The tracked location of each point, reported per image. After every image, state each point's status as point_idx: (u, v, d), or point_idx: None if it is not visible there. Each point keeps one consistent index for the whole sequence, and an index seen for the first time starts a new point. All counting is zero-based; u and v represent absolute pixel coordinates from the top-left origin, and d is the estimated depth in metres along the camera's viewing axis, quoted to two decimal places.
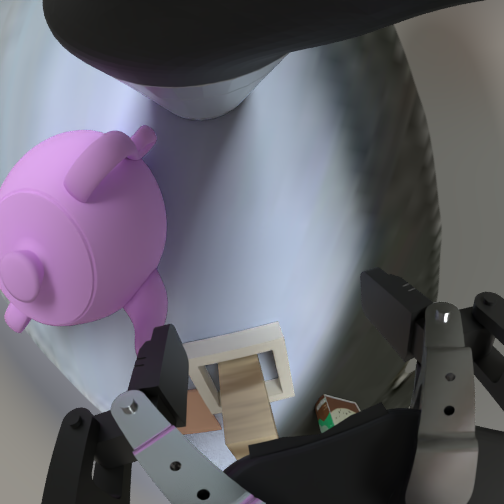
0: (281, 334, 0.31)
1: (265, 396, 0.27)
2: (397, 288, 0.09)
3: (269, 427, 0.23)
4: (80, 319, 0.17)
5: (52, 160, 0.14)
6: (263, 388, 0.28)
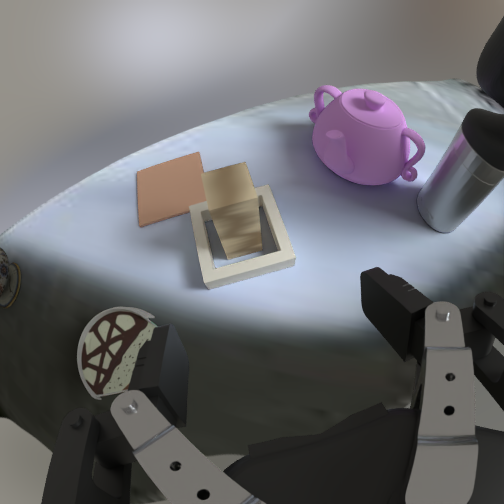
0: None
1: (259, 221, 0.32)
2: (397, 288, 0.09)
3: None
4: (349, 116, 0.34)
5: None
6: None
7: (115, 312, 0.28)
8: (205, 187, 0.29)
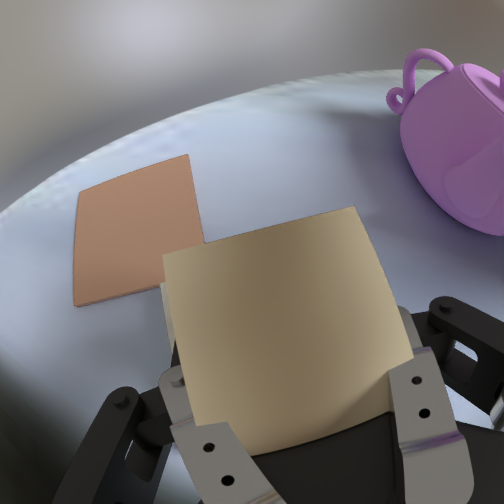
0: None
1: None
2: None
3: None
4: (493, 109, 0.12)
5: None
6: None
7: None
8: (182, 335, 0.06)
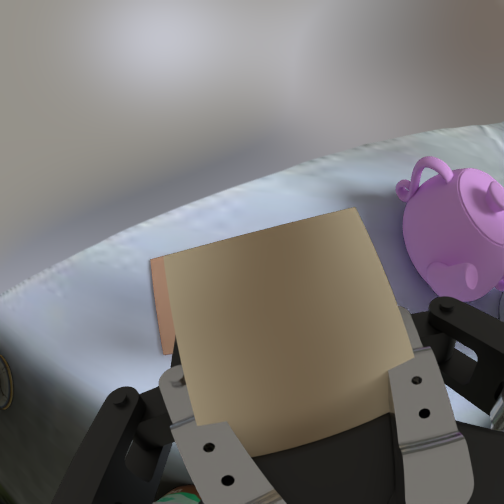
0: None
1: None
2: None
3: None
4: (472, 226, 0.21)
5: None
6: None
7: None
8: (184, 337, 0.06)
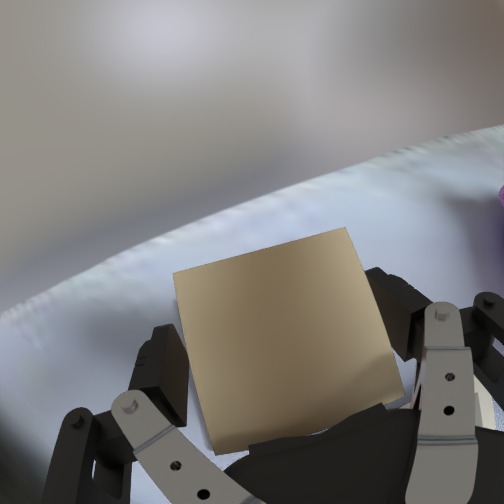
0: None
1: None
2: (397, 288, 0.09)
3: None
4: None
5: None
6: None
7: None
8: (193, 345, 0.07)
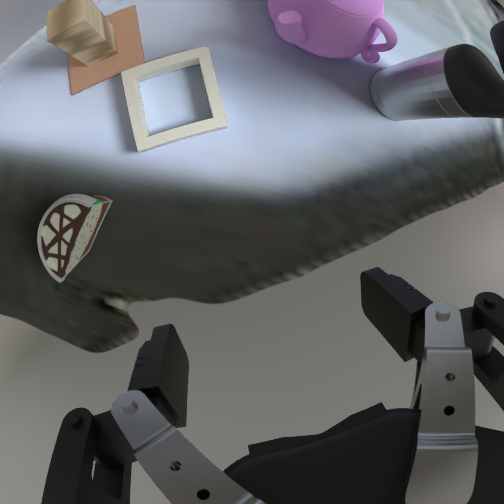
0: (227, 125, 0.33)
1: (100, 34, 0.21)
2: (397, 288, 0.09)
3: (87, 19, 0.17)
4: None
5: (383, 15, 0.24)
6: (103, 37, 0.23)
7: (62, 204, 0.27)
8: (48, 22, 0.15)
